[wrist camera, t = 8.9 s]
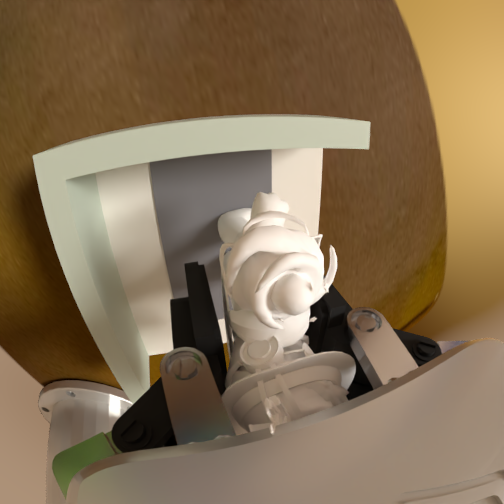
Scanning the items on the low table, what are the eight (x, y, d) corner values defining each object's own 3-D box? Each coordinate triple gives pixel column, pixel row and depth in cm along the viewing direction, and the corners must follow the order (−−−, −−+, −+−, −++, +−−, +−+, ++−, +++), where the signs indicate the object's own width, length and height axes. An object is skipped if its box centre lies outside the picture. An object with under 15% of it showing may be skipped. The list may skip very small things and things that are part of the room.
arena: (304, 318, 21) (332, 361, 17) (133, 351, 18) (132, 404, 14) (317, 115, 14) (370, 122, 10) (72, 141, 11) (32, 155, 7)
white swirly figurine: (198, 164, 13) (205, 392, 2) (278, 161, 13) (478, 320, 3) (210, 312, 17) (239, 509, 7) (272, 306, 18) (340, 487, 7)
